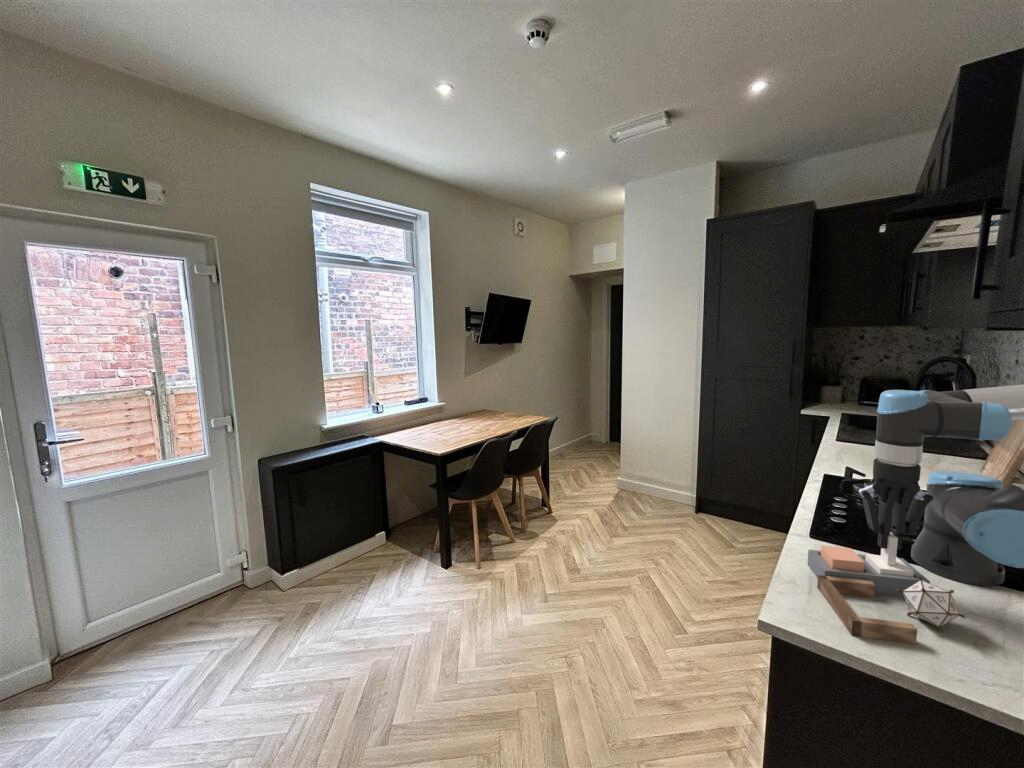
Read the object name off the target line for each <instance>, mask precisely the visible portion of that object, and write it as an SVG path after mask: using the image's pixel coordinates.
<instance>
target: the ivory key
mask: <svg viewBox="0 0 1024 768" xmlns="http://www.w3.org/2000/svg"><path fill="white" fill-rule="evenodd" d="M864 555H865V560H866V561H867V562H868V563H869V564H870V565H871V566H872V567H873V568H874V569H875V570H876V571H877V572H878V573H879V574H886V575H896V576H906V577H914V571H912V570H911V569H910V568H909V567H908V566H907V565H905V564H904V563H903V562H902V561H901V560H900V559H899V558H900V557H898V556H896V565H888V564H886V563H885V562H884V561H883V560H882V559H881V558H880V556H881V554H880V555H879V554H869V553H865V554H864Z"/></svg>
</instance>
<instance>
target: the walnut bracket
mask: <svg viewBox="0 0 1024 768" xmlns="http://www.w3.org/2000/svg"><path fill="white" fill-rule="evenodd" d="M816 583H817V589H818V590H819V592H820V593H821V595H822V596H823V597H824V599H825V600H826V601H827V604H828V605H829V606H830V607H831V608H832V610H833V611H834V613H835V614H836V616H837V617H838V619H839V620H840V621H841V623H842V624H843V626H844V627H845V628H846V631H848V632H849V634H850V635H851V636H855V637H863V638H869V639H876V640H884V641H890V642H897V643H898V642H899V643H906V644H913V645H917V639H918V637H917V636H918V629H917V627H916V626H915V625H914V624H913V623H909V622H901V621H896V620H895V621H894V620H884V619H878V618H870V617H861V616H858V615H857V614H856V613H855V611H854V610H853V608H851V606H850V605H849V604H848V602H847V601H846V600H845V598H844V597H843V596H842V595H849V596H856V597H865V598H866V597H867V598H873V599H874V598H875V594H876V593H875V584H874V583H873V582H872V581H869V580H859V579H850V578H841V577H832V576H822V575H818V578H817V582H816Z"/></svg>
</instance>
